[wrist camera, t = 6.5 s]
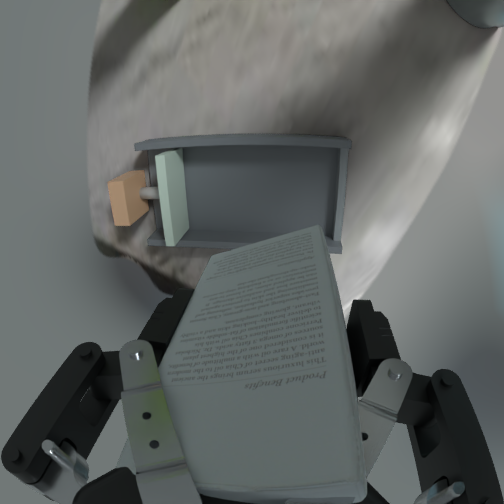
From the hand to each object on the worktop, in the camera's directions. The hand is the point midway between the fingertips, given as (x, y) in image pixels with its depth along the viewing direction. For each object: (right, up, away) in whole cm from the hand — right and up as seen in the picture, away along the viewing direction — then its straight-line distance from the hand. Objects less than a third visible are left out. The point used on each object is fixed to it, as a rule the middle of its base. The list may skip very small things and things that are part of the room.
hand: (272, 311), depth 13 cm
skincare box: (+1, +2, +3) cm, 3 cm away
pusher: (-12, +10, +20) cm, 26 cm away
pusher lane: (-2, +10, +20) cm, 22 cm away
